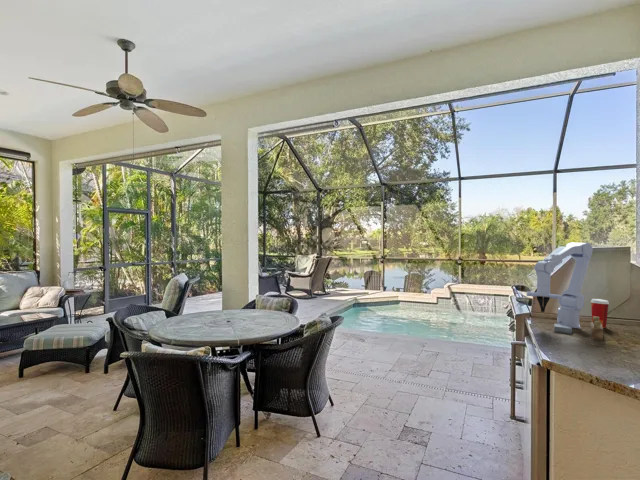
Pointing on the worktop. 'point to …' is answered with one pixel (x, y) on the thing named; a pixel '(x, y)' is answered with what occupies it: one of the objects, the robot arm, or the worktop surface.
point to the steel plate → (563, 328)
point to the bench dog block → (596, 329)
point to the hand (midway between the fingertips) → (542, 311)
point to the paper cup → (600, 310)
